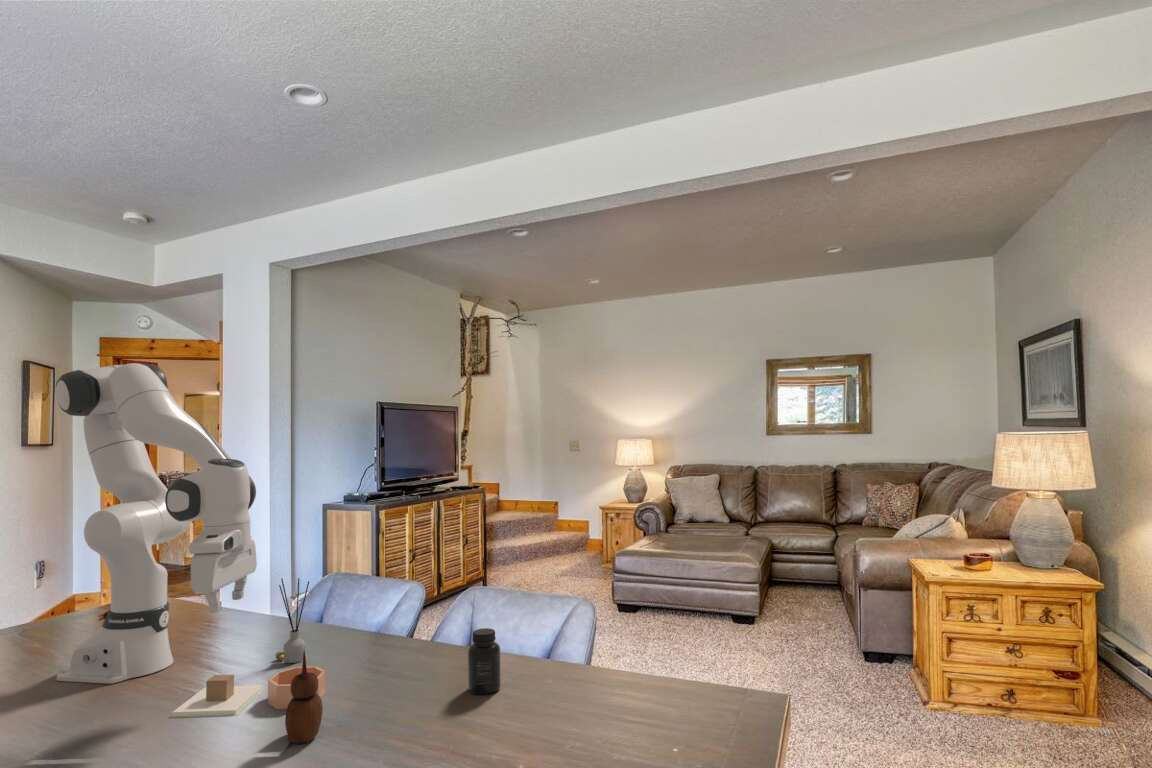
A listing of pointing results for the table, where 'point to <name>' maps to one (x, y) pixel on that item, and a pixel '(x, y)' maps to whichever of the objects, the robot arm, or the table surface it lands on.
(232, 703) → the lid
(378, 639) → the table surface
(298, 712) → the wooden figurine
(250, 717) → the table surface
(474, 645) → the supplement bottle
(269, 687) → the bowl
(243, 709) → the mat
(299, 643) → the reed diffuser
